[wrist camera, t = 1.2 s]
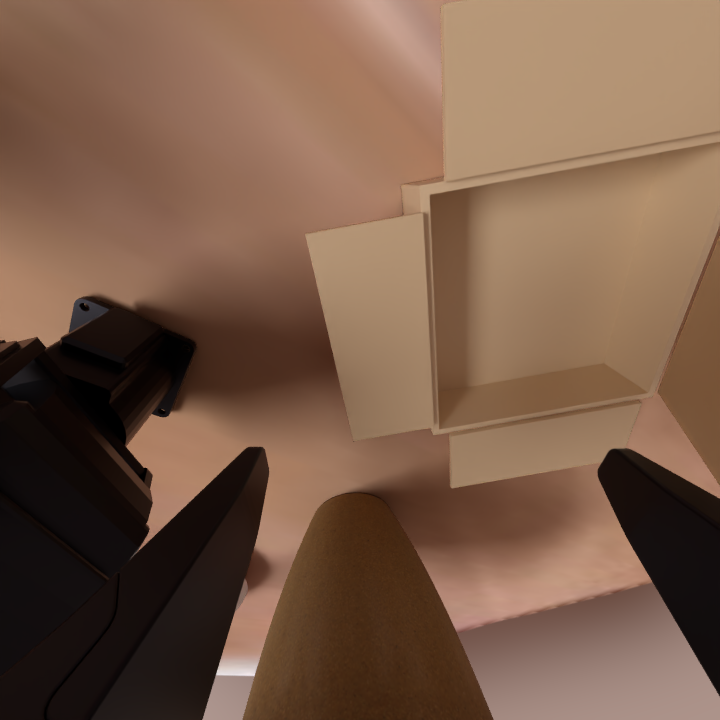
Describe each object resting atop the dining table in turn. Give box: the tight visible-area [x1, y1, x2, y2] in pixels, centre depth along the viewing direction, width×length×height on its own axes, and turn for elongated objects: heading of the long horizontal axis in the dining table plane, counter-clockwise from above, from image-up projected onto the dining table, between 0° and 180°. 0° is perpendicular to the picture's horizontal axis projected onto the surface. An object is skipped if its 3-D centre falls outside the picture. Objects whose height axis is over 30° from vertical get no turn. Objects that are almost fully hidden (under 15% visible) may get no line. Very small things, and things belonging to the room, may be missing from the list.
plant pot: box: [243, 493, 493, 720], centre depth 23 cm, size 15×15×16 cm
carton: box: [305, 0, 720, 488], centre depth 18 cm, size 19×24×4 cm
